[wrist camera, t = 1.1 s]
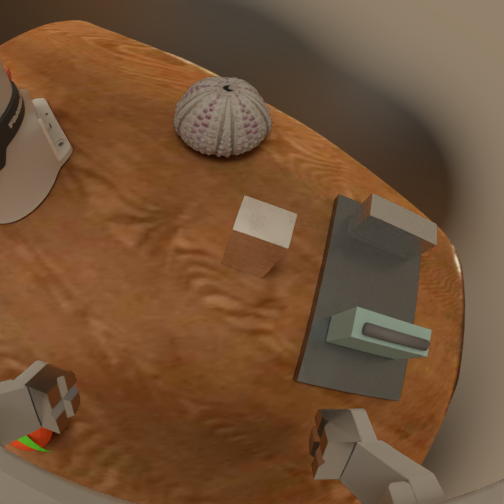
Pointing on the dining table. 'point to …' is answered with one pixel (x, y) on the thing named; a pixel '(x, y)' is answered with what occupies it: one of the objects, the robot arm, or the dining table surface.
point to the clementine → (34, 440)
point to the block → (258, 237)
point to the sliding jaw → (378, 334)
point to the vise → (364, 292)
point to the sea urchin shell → (222, 117)
